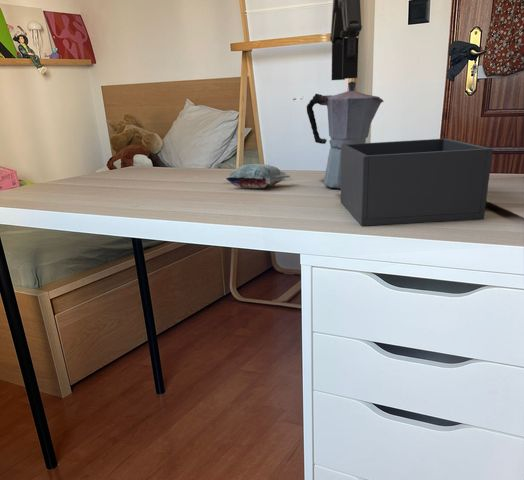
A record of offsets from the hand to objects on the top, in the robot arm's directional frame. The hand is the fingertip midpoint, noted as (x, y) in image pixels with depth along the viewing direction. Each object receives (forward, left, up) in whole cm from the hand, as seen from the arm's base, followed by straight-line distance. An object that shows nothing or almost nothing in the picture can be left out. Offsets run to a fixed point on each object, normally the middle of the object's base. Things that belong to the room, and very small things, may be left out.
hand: (343, 79), depth 104 cm
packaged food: (+18, -6, -21) cm, 28 cm away
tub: (-6, +27, -21) cm, 35 cm away
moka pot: (0, 0, -21) cm, 21 cm away
